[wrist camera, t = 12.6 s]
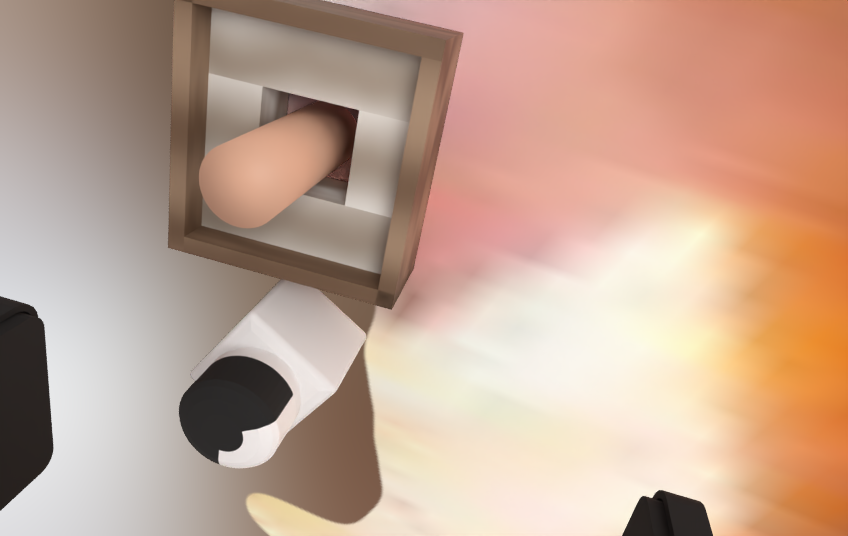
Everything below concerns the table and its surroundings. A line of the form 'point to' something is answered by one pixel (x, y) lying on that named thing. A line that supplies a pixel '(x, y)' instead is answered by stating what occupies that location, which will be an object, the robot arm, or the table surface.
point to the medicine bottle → (268, 375)
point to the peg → (276, 163)
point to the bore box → (268, 100)
